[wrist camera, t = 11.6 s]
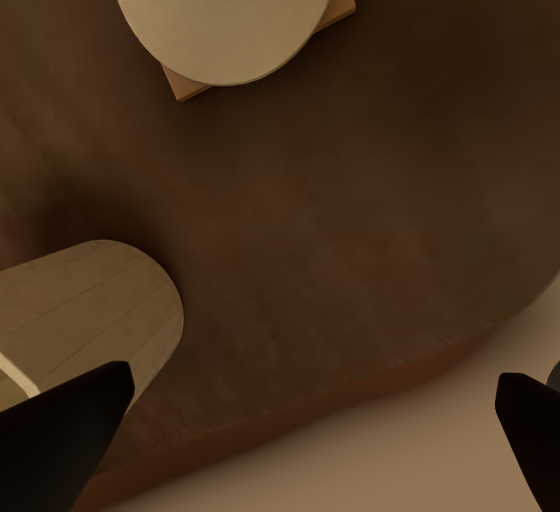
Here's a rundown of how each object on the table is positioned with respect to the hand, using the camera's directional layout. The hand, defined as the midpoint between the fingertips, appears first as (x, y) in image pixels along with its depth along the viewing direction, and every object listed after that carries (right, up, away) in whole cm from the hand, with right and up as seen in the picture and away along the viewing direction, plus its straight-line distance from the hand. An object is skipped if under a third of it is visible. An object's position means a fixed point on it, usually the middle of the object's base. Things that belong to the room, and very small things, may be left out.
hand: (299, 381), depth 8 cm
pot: (-12, -1, +15) cm, 19 cm away
